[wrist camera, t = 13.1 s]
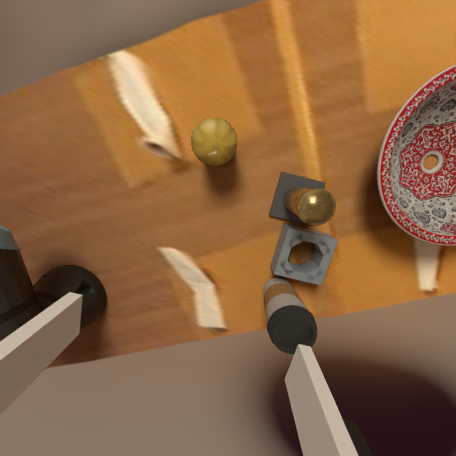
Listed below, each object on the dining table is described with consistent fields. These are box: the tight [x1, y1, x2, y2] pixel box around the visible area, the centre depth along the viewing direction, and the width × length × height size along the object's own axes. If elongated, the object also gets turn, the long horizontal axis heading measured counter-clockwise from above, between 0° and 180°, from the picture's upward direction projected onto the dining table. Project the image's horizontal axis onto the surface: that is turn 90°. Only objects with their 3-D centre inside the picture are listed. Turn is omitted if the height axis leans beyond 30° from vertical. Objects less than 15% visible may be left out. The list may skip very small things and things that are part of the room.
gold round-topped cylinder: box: [283, 187, 336, 226], centre depth 39 cm, size 6×6×12 cm
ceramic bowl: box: [377, 65, 456, 245], centre depth 39 cm, size 29×29×8 cm
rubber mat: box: [269, 172, 325, 225], centre depth 45 cm, size 9×9×1 cm
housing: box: [271, 223, 338, 285], centre depth 46 cm, size 10×10×4 cm
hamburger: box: [191, 117, 237, 166], centre depth 37 cm, size 8×7×12 cm
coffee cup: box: [264, 277, 317, 354], centre depth 43 cm, size 8×8×15 cm
